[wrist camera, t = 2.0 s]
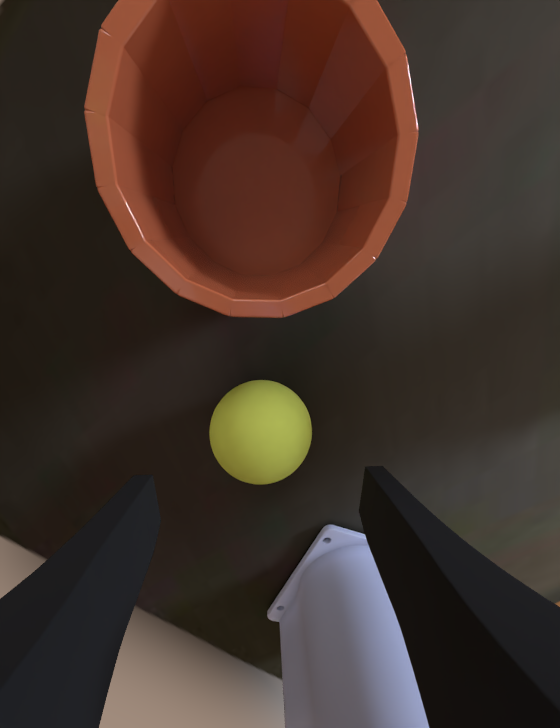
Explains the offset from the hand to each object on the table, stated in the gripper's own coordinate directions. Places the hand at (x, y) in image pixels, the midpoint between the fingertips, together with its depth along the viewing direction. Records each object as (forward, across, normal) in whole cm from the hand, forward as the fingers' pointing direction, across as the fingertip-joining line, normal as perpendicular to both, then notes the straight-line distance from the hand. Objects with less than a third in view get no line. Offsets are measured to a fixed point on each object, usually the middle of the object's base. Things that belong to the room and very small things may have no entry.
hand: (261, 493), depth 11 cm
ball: (+4, 0, 0) cm, 4 cm away
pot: (+6, 0, -10) cm, 12 cm away
